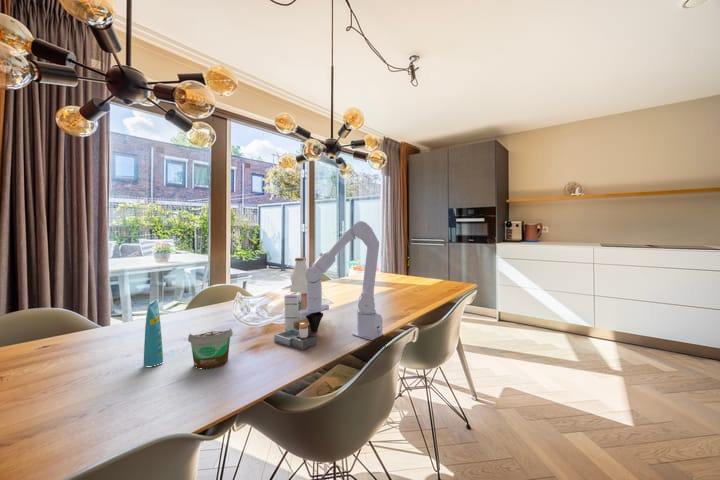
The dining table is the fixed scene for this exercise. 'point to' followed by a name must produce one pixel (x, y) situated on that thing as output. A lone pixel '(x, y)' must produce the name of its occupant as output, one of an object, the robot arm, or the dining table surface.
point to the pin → (303, 330)
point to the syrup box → (292, 309)
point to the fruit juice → (300, 281)
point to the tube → (153, 336)
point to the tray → (286, 336)
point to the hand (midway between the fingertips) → (314, 331)
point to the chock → (296, 323)
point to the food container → (210, 348)
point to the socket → (303, 342)
